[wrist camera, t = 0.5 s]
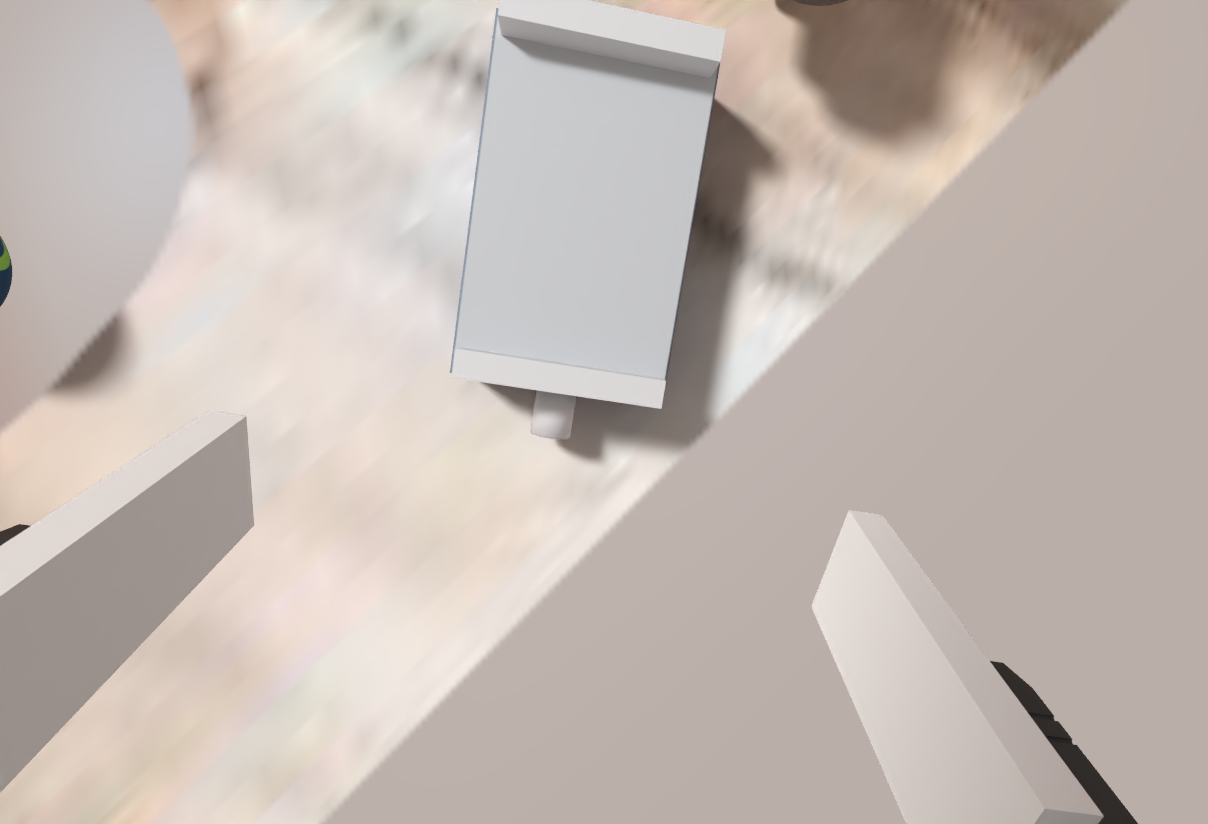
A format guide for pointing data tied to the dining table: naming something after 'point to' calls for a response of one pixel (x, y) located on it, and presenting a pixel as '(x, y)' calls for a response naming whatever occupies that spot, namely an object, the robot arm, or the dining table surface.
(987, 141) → the dining table surface
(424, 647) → the dining table surface
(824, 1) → the pneumatic valve
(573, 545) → the dining table surface
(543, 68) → the grey piece
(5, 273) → the christmas ornament
